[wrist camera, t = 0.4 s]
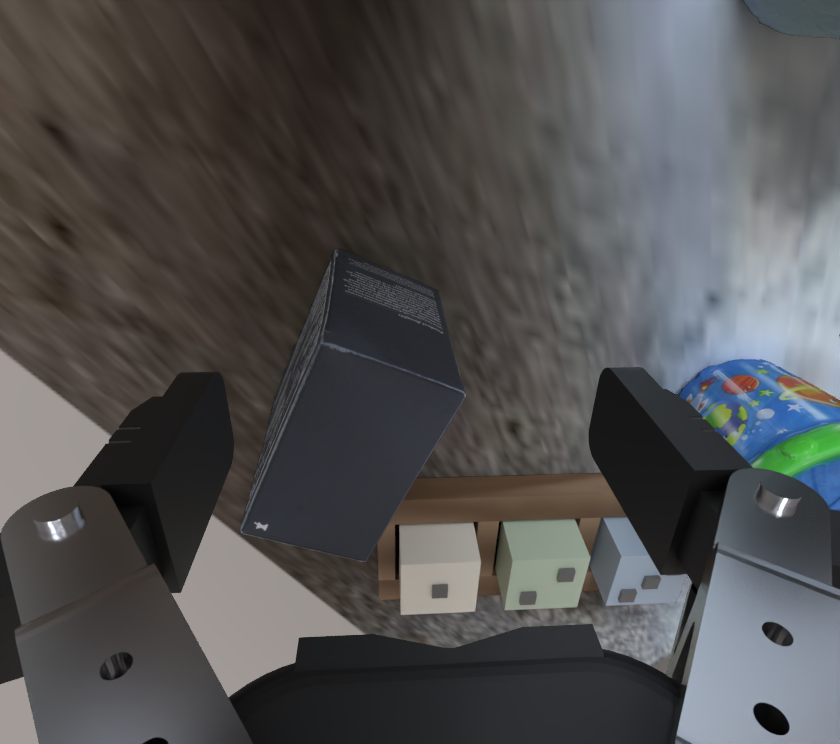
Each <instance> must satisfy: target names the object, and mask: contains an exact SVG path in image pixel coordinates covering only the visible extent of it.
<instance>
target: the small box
mask: <svg viewBox="0 0 840 744" xmlns="http://www.w3.org/2000/svg"><path fill="white" fill-rule="evenodd" d="M465 397H466V393H465V390H464V386H463V383H462V380H461V376H460V372H459V368H458V365H457V361H456V358H455V354H454V350H453V347H452V343H451V339H450V335H449V331H448V328H447V324H446V320H445V316H444V312H443V308H442V304H441V301H440V297H439V293H438V291H437V290H435V289H433V288H431V287H428V286H426V285H424V284H422V283H420V282H417V281H415V280H413V279H410V278H408V277H406V276H403V275H401V274H399V273H396V272H394V271H392V270H389V269H387V268H384V267H382V266H380V265H377V264H375V263H372V262H370V261H368V260H365V259H363V258H361V257H359V256H356V255H354V254H351V253H349V252H347V251H344V250H341V249H336V250H334V252H333V254H332V256H331V259H330V261H329V264H328V266H327V268H326V271H325V273H324V276H323V278H322V281H321V283H320V286H319V288H318V291H317V293H316V296H315V298H314V300H313V303H312V304H311V307H310V310H309V312H308V316H307V317H306V320H305V323H304V325H303V328H302V330H301V333H300V334H299V337H298V340H297V342H296V344H295V345H294V349H293V352H292V353H291V357H290V359H289V361H288V365H287V366H286V368H285V371H284V374H283V377H282V380H281V382H280V385H279V388H278V391H277V393H276V396H275V397H274V401H273V406H272V409H271V414H270V419H269V423H268V428H267V432H266V435H265V439H264V443H263V447H262V451H261V455H260V457H259V460H258V464H257V468H256V471H255V476H254V479H253V483H252V486H251V490H250V493H249V498H248V500H247V504H246V508H245V511H244V515H243V519H242V523H241V527H240V531H241V533H243V534H246V535H250V536H255V537H259V538H263V539H268V540H272V541H276V542H281V543H285V544H288V545H293V546H298V547H302V548H306V549H310V550H314V551H319V552H323V553H327V554H331V555H335V556H340V557H344V558H348V559H353V560H357V561H361V562H366V561H367V560H368V558H369V556H370V554H371V553H372V551H373V550H374V548H375V546H376V545H377V543H378V541H379V540H380V538H381V536H382V535H383V533H384V531H385V530H386V528H387V526H388V524H389V523H390V521H391V519H392V518H393V516H394V514H395V513H396V511H397V509H398V508H399V506H400V504H401V503H402V501H403V499H404V498H405V496H406V494H407V493H408V491H409V489H410V488H411V486H412V484H413V482H414V481H415V479H416V478H417V476H418V474H419V473H420V471H421V469H422V468H423V466H424V465H425V463H426V461H427V460H428V458H429V456H430V455H431V453H432V451H433V450H434V448H435V446H436V445H437V443H438V441H439V440H440V438H441V437H442V435H443V433H444V432H445V430H446V428H447V427H448V425H449V423H450V422H451V420H452V419H453V417H454V415H455V413H456V412H457V410H458V409H459V407H460V406H461V404H462V402H463V401H464V399H465Z"/></svg>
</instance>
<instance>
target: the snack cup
mask: <svg viewBox="0 0 840 744" xmlns="http://www.w3.org/2000/svg"><path fill="white" fill-rule="evenodd" d="M839 336H840V335H839ZM679 397H681V398H683V399H684V400H686V401H688V402H689V403H690V404H691V405H692V406H693V407H694V408H695V409H696V410H697V411H698V412H699V413H700V414H701V415H702V416H703V419H706V420H707V421H708V422H709V423H710V424H711V425H712V426H713V427H714V428H715V432H719V433H720V434H721V435H722V436H723V437H724V439H725V440H726V441H727V442H728V443H729V444H730V445H731V446H732V447H733V448H734V449H735V450H736V451H737V452H738V453H739V454H740V455H741V456H742V457H743V458H744V459H745V460H746V461H747V462H748V463H749V464H750V465H751V466H752V467H753V468H760V469H767V470H772V471H776V472H779V473H782V474H785V475H788V476H790V477H793V478H795V479H797V480H799V481H801V482H803V483H804V484H806V485H808V486H809V487H811V488H812V489H813V490H815V491H816V492H817V493H818V494H819V495H820V496H821V497H822V498H823V499H824V500H825V501H826V503H827V505H828V507H829V509H831V510H837V511H840V400H838V399H836V398H835V397H833V396H831V395H829V394H828V393H826V392H824V391H822V390H821V389H819V388H817V387H815V386H814V385H812V384H810V383H808V382H806V381H804V380H802V379H801V378H799V377H796V376H794V375H793V374H791V373H789V372H787V371H785V370H784V369H782V368H780V367H778V366H776V365H774V364H772V363H770V362H768V361H765V360H761V359H760V360H743V359H740V360H734V361H728V362H725V363H723V364H721V365H718V366H709V367H708V368H706V369H704V370H703V371H701V372H700V374H699V376H698V377H697V378H696V379H695V380H693V381H692V382H690V383H689V384H688V385H687V386H686V387H685V388H684V389H683V391H682V392H681V393H680V395H679Z"/></svg>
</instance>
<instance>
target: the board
mask: <svg viewBox="0 0 840 744" xmlns="http://www.w3.org/2000/svg"><path fill="white" fill-rule="evenodd" d="M606 517H627V516H626V514H625V513H624V511H623V509H622V507H621V506H620V504H619V502H618V500H617V499H616V497H615V495H614V493H613V492H612V490H611V488H610V487H609V485H608V483H607V481H606V480H605V478H604V476H603V474H602V473H585V474H550V475H515V476H479V477H444V478H416V479H415V481H414V482H413V484H412V486H411V488H410V489H409V491H408V493H407V494H406V496H405V498H404V499H403V501H402V503H401V504H400V506H399V508H398V509H397V511H396V513H395V514H394V516H393V518H392V519H391V521H390V523H389V524H388V526H387V528H386V530H385V531H384V533H383V535H382V536H381V538H380V540H379V541H378V543H377V550H378V583H379V600H389V599H400V580H399V557H395V525H399V524H429V523H459V522H473V523H474V528H475V533H476V538H477V544H478V549H479V554H480V559H481V567H480V575H479V583H478V592H477V596H482V595H501V592H500V588H499V583H498V579H497V574H496V570H495V564H496V557H497V553H495V549H496V542H497V534H498V527H499V521H518V520H547V519H575V521H576V523H577V526H578V528H579V530H580V533H581V535H582V538H583V540H584V543H585V545H586V548H587V550H588V552H589V555H590V557H591V553H592V549H593V545H594V542H595V538H596V534H597V531H598V527H599V524H600V520H601V518H606ZM582 591H599V588H598V586H597V583H596V581H595V578H594V576H593V573H592V571H591V568H590V566H589V565H588V569H587V573H586V576H585V580H584V583H583V587H582Z"/></svg>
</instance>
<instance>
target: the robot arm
mask: <svg viewBox="0 0 840 744" xmlns="http://www.w3.org/2000/svg"><path fill="white" fill-rule="evenodd" d="M589 446H590V451H591V454H592V457H593V459H594V461H595V462H596V464H597V466H598V467H599V469H600V471H601V473H602V474H603V476H604V478H605V480H606V481H607V483H608V485H609V487H610V488H611V490H612V492H613V493H614V495H615V497H616V499H617V500H618V502H619V504H620V506H621V507H622V509H623V511H624V513H625V514H626V516H627V518H628V519H629V521H630V523H631V525H632V526H633V528H634V530H635V532H636V533H637V535H638V537H639V539H640V540H641V542H642V544H643V545H644V547H645V549H646V551H647V552H648V554H649V556H650V558H651V559H652V561H653V563H654V565H655V566H656V568H657V570H658V572H659V573H660V575H678V574H687V575H688V576H689V578H690V579H691V581H692V582H691V585H690V587H689V590H688V593H687V596H686V600H685V603H684V607H683V611H682V615H681V619H680V622H679V626H678V630H677V634H676V638H675V641H674V645H673V649H672V653H671V657H670V660H669V664H668V668H667V671H666V674H664V673H662V672H660V671H659V670H657V669H655V668H653V667H651V666H649V665H647V664H645V663H643V662H641V661H638V660H636V659H633V658H631V657H629V656H626V655H622V654H619V653H616V652H613V651H609V650H605V649H602V648H601V645H600V643H599V640H598V638H597V635H596V633H595V630H594V628H593V625H592V624H584V625H563V626H541V627H522V628H518V629H515V630H512V631H509V632H505V633H502V634H499V635H496V636H492V637H489V638H486V639H483V640H479V641H476V642H473V643H470V644H466V645H463V646H460V647H456V648H441V647H436V646H431V645H426V644H421V643H415V642H410V641H405V640H400V639H395V638H390V637H385V636H379V635H374V634H368V635H346V636H325V637H303V638H299V642H298V649H297V655H296V662H295V663H294V664H290V665H288V666H285V667H281V668H279V669H277V670H275V671H272V672H270V673H267V674H265V675H263V676H261V677H260V678H258V679H256V680H254V681H252V682H251V683H249V684H247V685H246V686H245V687H243V688H241V689H240V690H238V691H237V692H235V693H234V694H233V695H231V696H230V697H229V698H228V696H227V694H226V693H225V691H224V689H223V687H222V685H221V683H220V682H219V680H218V678H217V676H216V674H215V673H214V671H213V669H212V667H211V665H210V663H209V662H208V660H207V658H206V656H205V654H204V652H203V651H202V649H201V647H200V645H199V643H198V641H197V640H196V638H195V636H194V634H193V633H192V631H191V629H190V627H189V625H188V623H187V622H186V620H185V618H184V616H183V614H182V612H181V610H180V609H179V607H178V605H177V603H176V601H175V600H174V598H173V596H172V594H171V593H181V591H182V588H183V586H184V583H185V581H186V578H187V576H188V573H189V570H190V568H191V565H192V563H193V560H194V558H195V555H196V552H197V550H198V548H199V545H200V543H201V540H202V537H203V535H204V532H205V530H206V527H207V525H208V522H209V520H210V517H211V515H212V512H213V510H214V507H215V505H216V502H217V500H218V497H219V495H220V492H221V490H222V487H223V484H224V482H225V479H226V477H227V474H228V472H229V469H230V467H231V464H232V459H233V451H234V440H233V432H232V426H231V420H230V415H229V409H228V403H227V397H226V392H225V386H224V381H223V378H222V376H221V374H220V373H219V372H188V373H179V374H178V375H177V377H176V378H175V380H174V381H173V383H172V384H171V385H170V387H169V388H168V390H167V391H166V392H165V394H164V395H163V397H152V398H150V399H149V400H147V401H146V402H144V403H143V404H141V405H140V406H138V407H136V408H135V409H133V410H132V411H131V412H130V413H129V415H128V416H127V417H126V419H125V420H124V421H123V422H122V424H121V425H120V426H119V430H116V432H115V433H114V434H113V435H112V437H111V438H110V439H109V444H105V446H104V447H103V449H102V450H101V451H100V452H99V454H98V455H97V456H96V457H95V459H94V460H93V461H92V463H91V464H90V465H89V467H88V468H87V469H86V471H85V472H84V473H83V475H82V476H81V477H80V478H79V479H78V481H77V482H76V483H75V485H74V486H73V487H68V488H63V489H59V490H56V491H53V492H50V493H47V494H45V495H43V496H40V497H38V498H36V499H35V500H32V501H30V502H29V503H27V504H26V505H24V506H23V507H21V508H20V509H19V510H17V511H16V512H15V513H14V514H13V515H12V516H11V517H10V518H9V519H8V520H7V522H6V523H5V525H4V526H3V528H2V531H1V533H0V684H2V683H5V682H8V681H11V680H15V679H18V678H20V677H24V679H25V684H26V688H27V692H28V697H29V702H30V706H31V711H32V714H33V719H34V724H35V728H36V732H37V737H38V742H39V744H840V511H837V510H831V509H829V507H828V505H827V503H826V501H825V500H824V499H823V498H822V497H821V496H820V495H819V494H818V493H817V492H816V491H815V490H813V489H812V488H811V487H809V486H808V485H806V484H804V483H803V482H801V481H799V480H797V479H795V478H793V477H790V476H788V475H785V474H782V473H779V472H776V471H772V470H767V469H760V468H753V467H752V466H751V465H750V464H749V463H748V462H747V461H746V460H745V459H744V458H743V457H742V456H741V455H740V454H739V453H738V452H737V451H736V450H735V449H734V448H733V447H732V446H731V445H730V444H729V443H728V442H727V441H726V440H725V439H724V437H723V436H722V435H721V434H720V433H719V432H715V428H714V427H713V426H712V425H711V424H710V423H709V422H708V421H707V420H706V419H703V416H702V415H701V414H700V413H699V412H698V411H697V410H696V409H695V408H694V407H693V406H692V405H691V404H690V403H689V402H688V401H686V400H684V399H683V398H681V397H679V396H677V395H676V394H674V393H672V392H670V391H669V390H667V389H662V388H661V387H660V386H659V385H658V383H657V382H656V381H655V380H654V379H653V378H652V377H651V376H650V375H649V374H648V373H647V372H646V371H645V370H644V369H643V368H640V367H632V368H605V369H604V370H603V371H602V373H601V375H600V378H599V383H598V388H597V393H596V398H595V403H594V408H593V413H592V418H591V423H590V428H589Z"/></svg>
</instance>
